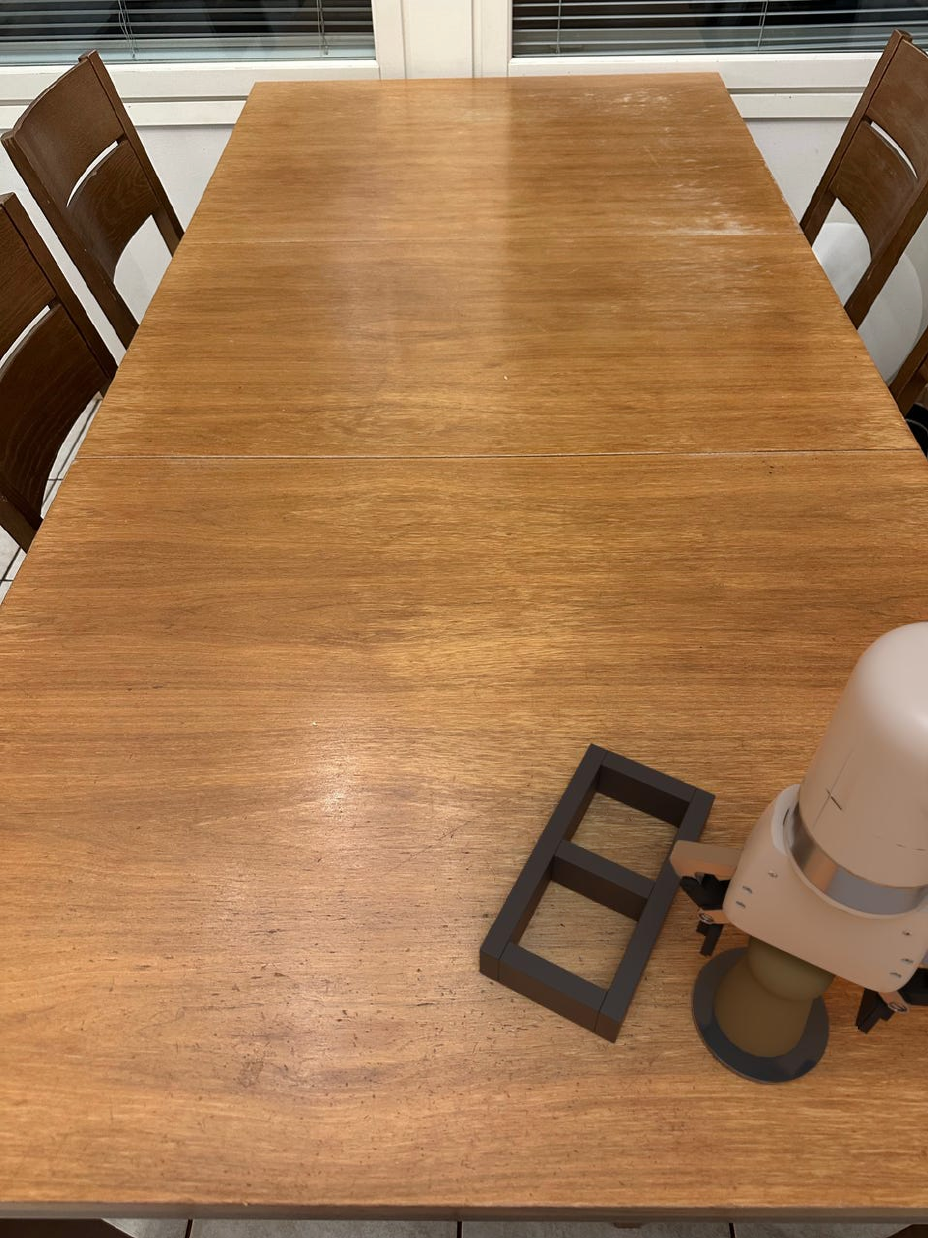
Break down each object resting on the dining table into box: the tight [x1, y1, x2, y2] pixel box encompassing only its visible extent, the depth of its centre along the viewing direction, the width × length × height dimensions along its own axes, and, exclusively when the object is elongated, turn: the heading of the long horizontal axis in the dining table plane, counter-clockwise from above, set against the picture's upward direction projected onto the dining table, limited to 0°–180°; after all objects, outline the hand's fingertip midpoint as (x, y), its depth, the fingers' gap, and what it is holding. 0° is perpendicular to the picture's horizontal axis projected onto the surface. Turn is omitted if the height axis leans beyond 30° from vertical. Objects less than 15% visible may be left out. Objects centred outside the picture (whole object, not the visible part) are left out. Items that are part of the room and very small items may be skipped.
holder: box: [478, 742, 716, 1044], centre depth 69 cm, size 10×19×4 cm, turn 152°
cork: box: [713, 934, 837, 1057], centre depth 60 cm, size 6×6×11 cm
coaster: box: [691, 946, 830, 1086], centre depth 64 cm, size 9×9×1 cm
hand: (786, 971), depth 59 cm, fingers open, 9 cm apart
